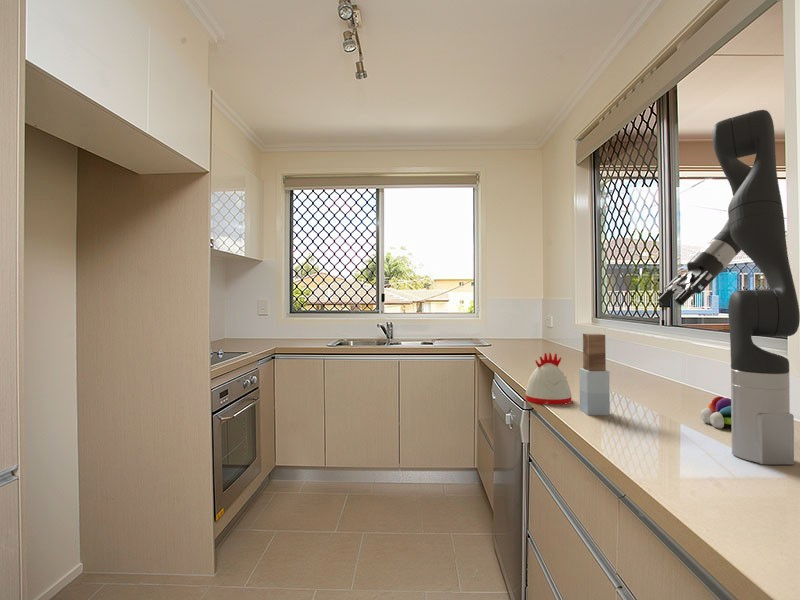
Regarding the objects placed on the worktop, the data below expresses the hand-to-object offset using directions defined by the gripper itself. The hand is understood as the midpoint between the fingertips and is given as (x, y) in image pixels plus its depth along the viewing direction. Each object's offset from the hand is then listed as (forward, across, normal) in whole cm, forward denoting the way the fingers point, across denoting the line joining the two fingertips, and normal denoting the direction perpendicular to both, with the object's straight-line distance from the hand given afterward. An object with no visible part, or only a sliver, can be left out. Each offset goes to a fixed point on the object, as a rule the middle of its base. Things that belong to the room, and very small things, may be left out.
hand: (668, 302), depth 127 cm
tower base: (+35, -4, +8) cm, 36 cm away
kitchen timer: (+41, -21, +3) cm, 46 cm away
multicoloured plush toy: (+16, +10, +28) cm, 34 cm away
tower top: (+31, -4, +4) cm, 31 cm away
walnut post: (+26, -4, 0) cm, 27 cm away
